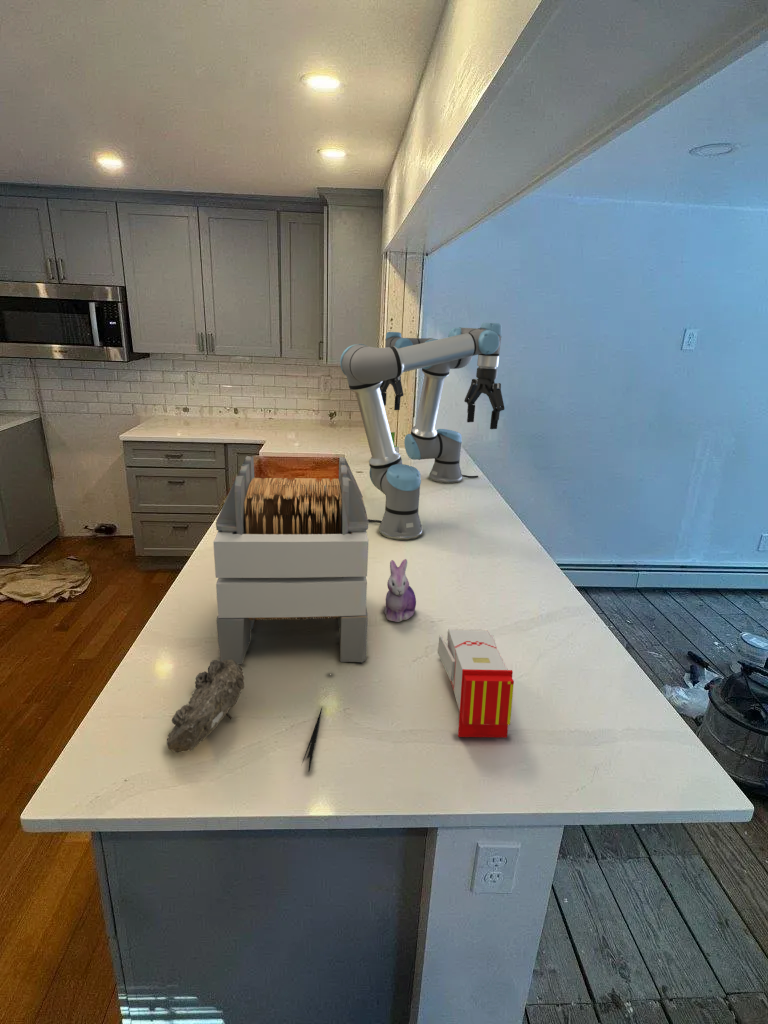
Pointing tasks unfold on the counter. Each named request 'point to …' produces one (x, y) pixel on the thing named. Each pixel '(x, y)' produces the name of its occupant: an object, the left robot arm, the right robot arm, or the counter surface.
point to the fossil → (206, 705)
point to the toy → (478, 682)
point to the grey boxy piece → (291, 558)
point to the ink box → (393, 442)
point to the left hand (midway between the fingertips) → (481, 425)
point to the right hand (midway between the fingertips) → (390, 407)
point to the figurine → (399, 594)
